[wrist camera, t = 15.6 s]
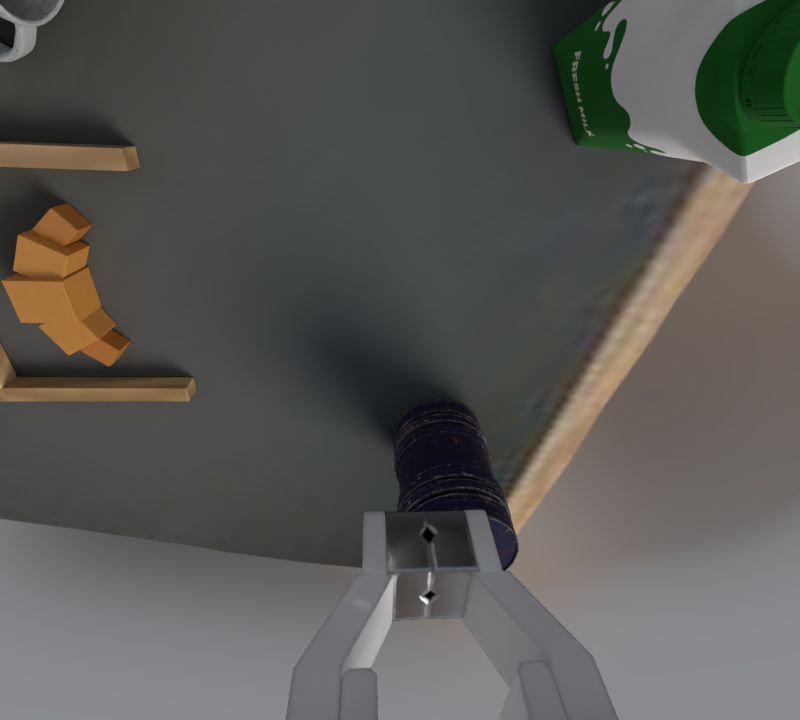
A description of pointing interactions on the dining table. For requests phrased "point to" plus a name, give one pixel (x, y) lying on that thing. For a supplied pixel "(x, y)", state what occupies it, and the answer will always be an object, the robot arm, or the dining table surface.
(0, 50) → the ceramic mug
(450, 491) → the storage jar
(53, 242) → the orange block cluster
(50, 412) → the dining table surface
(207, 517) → the dining table surface
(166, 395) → the oak frame
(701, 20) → the milk carton
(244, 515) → the dining table surface
